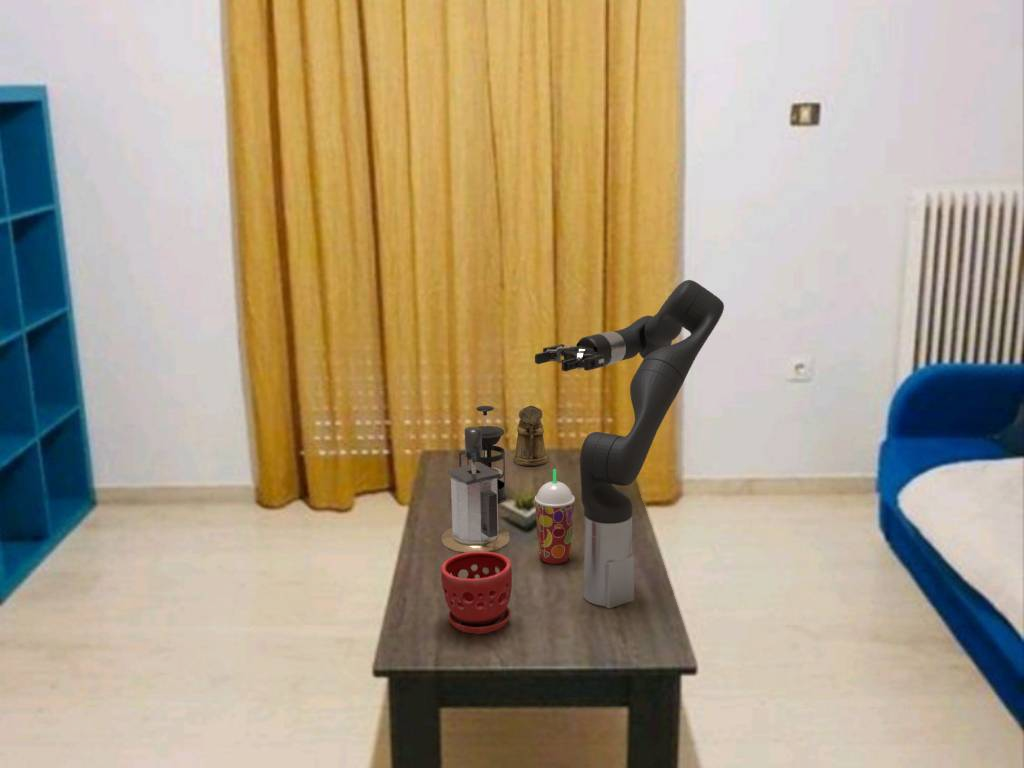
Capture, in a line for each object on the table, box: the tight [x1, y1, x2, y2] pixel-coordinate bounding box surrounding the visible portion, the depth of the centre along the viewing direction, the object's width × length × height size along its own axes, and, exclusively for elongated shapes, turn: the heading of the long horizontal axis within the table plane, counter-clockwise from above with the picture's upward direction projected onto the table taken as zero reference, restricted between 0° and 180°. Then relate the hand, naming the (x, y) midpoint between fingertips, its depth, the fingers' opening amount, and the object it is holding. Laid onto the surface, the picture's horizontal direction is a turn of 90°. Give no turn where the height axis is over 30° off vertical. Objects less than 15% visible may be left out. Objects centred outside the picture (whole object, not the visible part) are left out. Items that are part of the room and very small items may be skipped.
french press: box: [458, 405, 507, 502], centre depth 264 cm, size 12×9×23 cm
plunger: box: [464, 426, 483, 474], centre depth 240 cm, size 8×8×22 cm
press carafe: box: [441, 462, 511, 553], centre depth 241 cm, size 15×15×16 cm
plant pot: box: [440, 551, 513, 635], centre depth 205 cm, size 13×13×12 cm
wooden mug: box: [513, 405, 548, 467], centre depth 287 cm, size 9×14×18 cm, turn 0°
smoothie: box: [534, 468, 576, 565], centre depth 230 cm, size 8×8×20 cm
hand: (549, 362), depth 240 cm, fingers open, 8 cm apart
